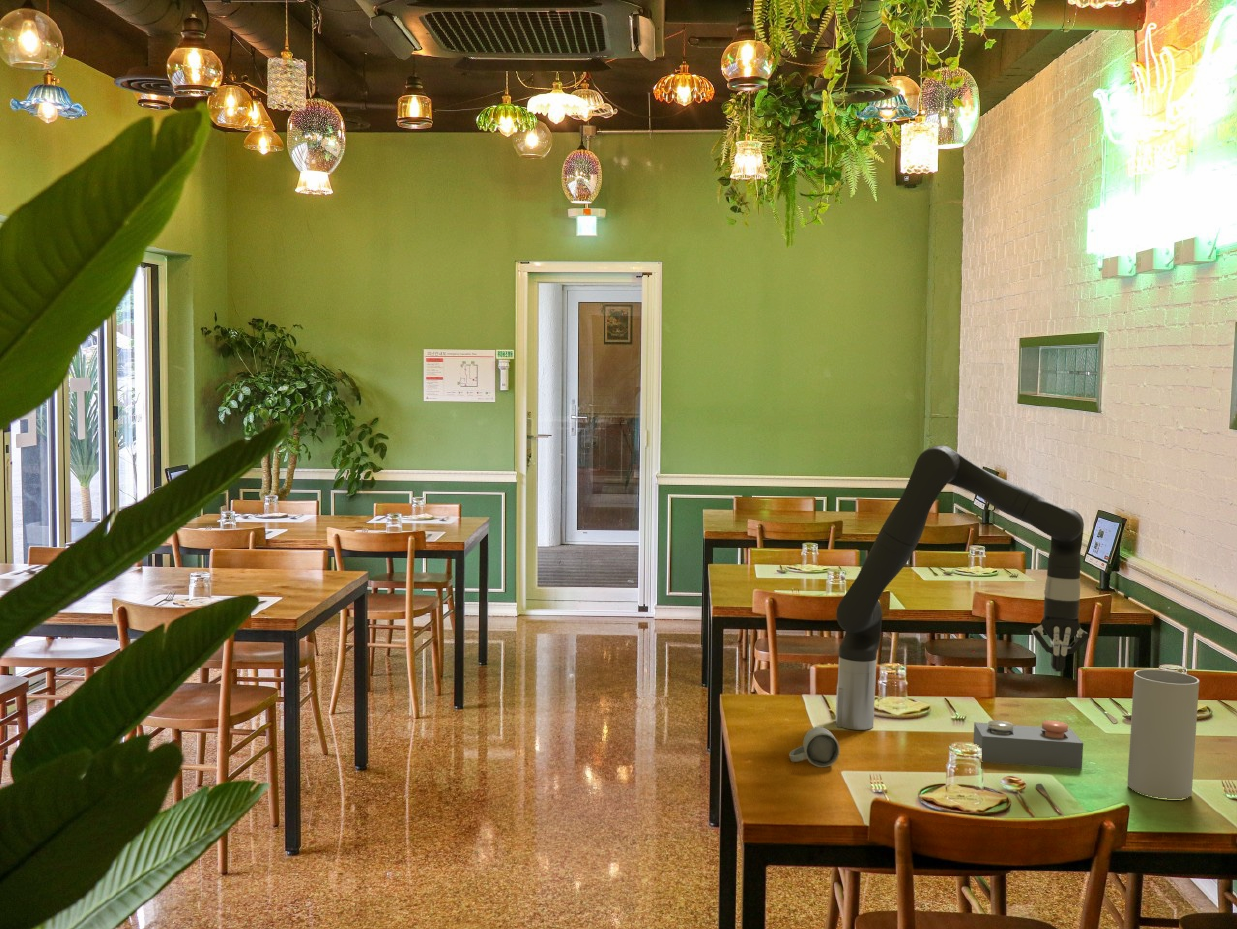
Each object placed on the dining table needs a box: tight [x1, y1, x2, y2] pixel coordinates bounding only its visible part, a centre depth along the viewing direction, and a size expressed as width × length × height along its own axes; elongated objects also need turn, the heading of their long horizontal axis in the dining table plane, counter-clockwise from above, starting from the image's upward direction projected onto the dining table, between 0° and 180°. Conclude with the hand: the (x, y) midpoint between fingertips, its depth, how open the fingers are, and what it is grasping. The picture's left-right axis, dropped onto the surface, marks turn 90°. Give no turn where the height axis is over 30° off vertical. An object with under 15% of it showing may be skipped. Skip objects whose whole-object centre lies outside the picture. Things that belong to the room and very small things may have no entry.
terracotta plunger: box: [1041, 719, 1069, 738], centre depth 264 cm, size 6×6×6 cm
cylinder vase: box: [1127, 668, 1200, 799], centre depth 244 cm, size 12×12×25 cm
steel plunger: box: [987, 719, 1015, 734], centre depth 266 cm, size 6×6×6 cm
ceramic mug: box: [789, 726, 840, 768], centre depth 258 cm, size 11×8×8 cm
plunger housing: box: [973, 721, 1084, 770], centre depth 265 cm, size 22×11×6 cm, turn 82°
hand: (1057, 670), depth 263 cm, fingers closed
